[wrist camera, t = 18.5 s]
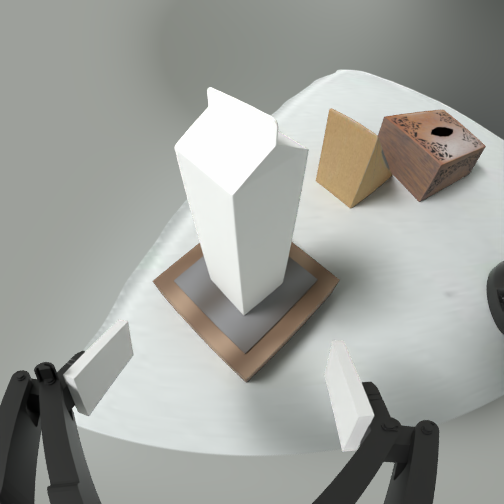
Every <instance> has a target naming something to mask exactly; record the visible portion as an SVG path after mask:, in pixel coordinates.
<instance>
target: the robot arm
mask: <svg viewBox="0 0 504 504" xmlns="http://www.w3.org/2000/svg"><path fill="white" fill-rule="evenodd" d="M487 297H488V303H489V307H490V310H491V313H492V316H493V318H494V321H495V323H496V325H497V326H498V328H499V329H500V331H501V332H502V333H503V334H504V261H503V262H501V263H499V264H498V265H497V266H496V267H495V268H494V269H492V271H491V272H490V274H489V277H488V281H487ZM132 356H133V349H132V344H131V338H130V332H129V325H128V321H124V320H119V319H118V320H117V321H116V322H115V323H114V324H113V325H112V326H111V327H110V328H109V329H108V330H107V331H106V332H105V333H104V334H103V335H102V336H101V337H100V338H99V339H98V340H97V341H96V342H95V343H94V344H93V345H92V346H91V347H90V348H89V349H88V350H87V351H86V352H85V351H81V352H79V353H77V354H75V356H73V357H72V358H71V360H69V361H68V363H66V364H65V365H64V366H63V367H62V368H61V369H60V370H59V371H58V372H56V369H55V367H54V365H53V364H52V363H49V362H44V363H40V364H39V365H37V366H36V367H35V369H34V371H35V374H36V377H37V379H31V377H30V375H29V373H28V372H27V371H24V370H23V371H17V372H16V373H14V374H13V376H12V377H11V380H10V382H9V385H8V387H7V390H6V392H5V395H4V397H3V400H2V403H1V405H0V504H34V494H35V476H36V465H37V456H38V449H39V442H40V435H41V430H42V438H43V445H44V452H45V459H46V464H47V469H48V474H49V479H50V484H51V485H50V486H48V487H47V490H48V496H49V499H50V503H51V504H101V502H100V499H99V497H98V494H97V492H96V489H95V487H94V484H93V481H92V479H91V476H90V472H89V469H88V466H87V463H86V460H85V457H84V453H83V450H82V446H81V442H80V438H79V434H78V430H77V426H76V422H75V417H74V412H73V410H72V408H73V407H74V405H75V406H76V408H77V410H78V412H79V413H82V414H84V415H87V416H89V415H90V414H91V413H92V411H93V410H94V408H95V407H96V406H97V404H98V403H99V401H100V400H101V399H102V397H103V396H104V394H105V393H106V392H107V390H108V389H109V388H110V386H111V385H112V383H113V382H114V381H115V379H116V378H117V377H118V375H119V374H120V373H121V371H122V370H123V369H124V367H125V366H126V364H127V363H128V362H129V360H130V359H131V358H132ZM324 376H325V380H326V384H327V388H328V392H329V396H330V401H331V405H332V409H333V413H334V417H335V422H336V426H337V430H338V435H339V439H340V444H341V448H342V451H343V452H344V451H354V450H357V449H358V447H359V445H361V446H360V447H359V449H358V450H357V451H356V453H355V454H354V455H353V457H352V458H351V459H350V461H349V462H348V463H347V464H346V466H345V467H344V468H343V469H342V471H341V472H340V473H339V474H338V475H337V477H336V478H335V479H334V480H333V481H332V483H331V484H330V485H329V486H328V487H327V488H326V489H325V490H324V491H323V493H322V494H321V495H320V496H319V497H318V498H317V499H316V500H315V501H314V502H313V503H312V504H355V503H356V502H357V500H358V499H359V497H360V496H361V495H362V493H363V492H364V490H365V489H366V488H367V486H368V485H369V483H370V482H371V480H372V479H373V477H374V476H375V474H376V473H377V471H378V470H379V468H380V466H381V465H382V463H383V462H395V464H394V468H393V472H392V476H391V480H390V484H389V487H388V491H387V495H386V498H385V501H384V504H432V503H433V498H434V491H435V483H436V475H437V464H438V463H437V462H438V447H439V428H438V426H437V425H436V424H435V423H434V422H432V421H429V420H423V421H420V422H419V423H418V424H417V425H416V427H410V426H402V425H401V424H400V423H399V421H398V420H396V419H394V418H391V417H390V415H389V412H388V410H387V408H386V406H385V403H384V401H383V400H382V397H381V395H380V392H379V390H378V388H377V387H376V386H375V385H374V384H373V383H372V382H361V380H360V378H359V375H358V373H357V371H356V368H355V366H354V364H353V361H352V359H351V356H350V354H349V352H348V349H347V347H346V345H345V342H344V341H335V340H332V343H331V347H330V352H329V356H328V361H327V365H326V369H325V373H324Z"/></svg>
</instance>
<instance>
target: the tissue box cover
mask: <svg viewBox="0 0 504 504" xmlns="http://www.w3.org/2000/svg"><path fill="white" fill-rule="evenodd" d="M378 137H379V140H380V143H381V146H382V149H383V152H384V155H385V157H386V160H387V162H388V165H389V168H390V170H391V173H392V174H393V175H394V176H395V177H396V178H397V179H398V180H399V181H400V182H401V183H402V184H403V185H404V186H405V188H406V189H407V190H408V191H409V192H410V193H411V194H412V195H413V196H414V197H415V198H416V199H417V200H418V201H419V202H420V201H422V200H424V199H426V198H428V197H429V196H431V195H433V194H435V193H437V192H438V191H440V190H442V189H444V188H446V187H447V186H449V185H451V184H453V183H454V182H456V181H458V180H460V179H461V178H463V177H465V176H467V175H468V174H469V173H470V172H471V170H472V169H473V167H474V165H475V164H476V162H477V160H478V159H479V157H480V155H481V154H482V152H483V150H484V148H485V147H486V146H485V145H484V144H483V143H482V142H481V141H480V140H479V139H477V138H476V137H475V136H474V135H473V134H472V133H471V132H470V131H469V130H467V129H466V128H465V127H464V126H463V125H462V124H461V123H459V122H458V121H457V120H456V119H454V118H453V117H452V116H451V115H450V114H448V113H447V112H446V111H444V110H434V111H424V112H415V113H408V114H400V115H393V116H387V117H384V119H383V122H382V125H381V128H380V131H379V134H378Z"/></svg>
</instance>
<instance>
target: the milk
mask: <svg viewBox="0 0 504 504" xmlns="http://www.w3.org/2000/svg"><path fill="white" fill-rule="evenodd" d="M207 95H208V108H207V109H206V110H205V111H204V113H203V114H202V115H201V116H200V117H199V118H198V119H197V120H196V121H195V123H194V124H193V125H192V126H191V127H190V128H189V130H188V131H187V132H186V133H185V134H184V135H183V136H182V138H181V139H180V140H179V141H178V143H177V144H176V145H175V152H176V156H177V160H178V163H179V167H180V172H181V176H182V180H183V183H184V187H185V191H186V195H187V199H188V202H189V206H190V210H191V213H192V217H193V220H194V224H195V228H196V231H197V235H198V238H199V242H200V245H201V248H202V252H203V255H204V259H205V262H206V265H207V268H208V272H209V275H210V278H211V280H212V281H213V282H214V283H215V285H216V286H217V287H218V288H219V289H220V290H221V291H222V292H223V293H224V295H225V296H226V297H227V298H228V299H229V300H230V301H231V302H232V303H233V304H234V306H235V307H236V308H237V309H238V310H239V311H240V312H241V313H242V314H243V315H245V314H247V313H248V312H249V311H250V310H251V309H253V308H254V307H255V306H256V305H257V304H259V303H260V302H261V301H262V300H263V299H265V298H266V297H267V296H268V295H269V294H271V293H272V292H273V291H274V290H275V289H276V288H278V287H279V286H280V285H281V284H282V283H283V280H284V275H285V270H286V266H287V261H288V256H289V251H290V247H291V242H292V237H293V232H294V227H295V222H296V217H297V212H298V206H299V201H300V196H301V191H302V185H303V180H304V174H305V169H306V163H307V157H308V151H309V150H308V149H307V148H306V147H304V146H303V145H301V144H299V143H298V142H296V141H294V140H293V139H291V138H290V137H288V136H286V135H284V134H283V133H281V132H279V131H278V123H277V121H276V119H275V118H273V117H272V116H270V115H268V114H266V113H264V112H262V111H260V110H258V109H256V108H254V107H252V106H250V105H248V104H246V103H244V102H242V101H240V100H238V99H236V98H233V97H231V96H229V95H227V94H224V93H223V92H220V91H218V90H216V89H213V88H211V87H210V88H208V90H207Z"/></svg>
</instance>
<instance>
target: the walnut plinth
mask: <svg viewBox="0 0 504 504" xmlns="http://www.w3.org/2000/svg"><path fill="white" fill-rule="evenodd" d="M153 282H154V284H155V285H156V287H157V288H158V289H159V291H160V292H161V294H162V295H163V296H164V297H165V298H166V299H167V301H168V302H169V303H170V304H171V305H172V306H173V307H174V309H175V310H176V311H177V312H178V313H179V314H180V315H181V316H182V318H183V319H184V320H185V321H186V322H187V323H188V324H189V325H190V326H191V327H192V329H193V330H194V331H195V332H196V333H197V334H198V335H199V336H200V337H201V338H202V339H203V340H204V341H205V342H206V343H207V344H208V345H209V347H210V348H211V349H212V350H213V351H214V352H215V353H216V354H217V355H218V356H219V357H220V358H221V359H222V360H223V361H224V362H225V363H226V364H227V365H228V366H229V367H230V368H231V369H232V370H233V371H234V372H236V373H237V374H238V375H239V376H240V377H241V378H242V379H243V380H244V381H245V382H247V381H249V380H250V379H251V378H252V377H253V376H254V375H255V374H256V373H257V372H258V371H259V370H260V369H261V368H262V367H263V366H264V365H265V364H266V363H267V362H268V361H269V360H270V359H271V358H272V357H273V356H274V355H275V354H276V353H277V352H278V351H279V350H280V349H281V348H282V347H283V346H284V345H285V344H286V343H287V342H288V341H289V339H290V338H291V337H292V336H293V335H294V334H295V333H296V332H297V331H298V330H299V329H300V328H301V327H302V326H303V325H304V323H305V322H306V321H307V320H308V319H309V318H310V317H311V316H312V315H313V313H314V312H315V311H316V310H317V309H318V308H319V307H320V306H321V304H322V303H323V302H324V301H325V300H326V299H327V298H328V296H329V295H330V294H331V293H332V291H333V290H334V288H335V287H336V285H337V283H338V282H339V279H338V278H337V277H335V276H334V275H333V274H332V273H330V272H329V271H328V270H327V269H325V268H324V267H323V266H322V265H320V264H319V263H318V262H317V261H315V260H314V259H313V258H312V257H310V256H309V255H308V254H306V253H305V252H304V251H303V250H301V249H300V248H299V247H297V246H296V245H295V244H294V243H292V242H291V247H290V251H289V256H288V261H287V266H286V270H285V275H284V280H283V283H282V284H281V285H280V286H279V287H278V288H276V289H275V290H274V291H273V292H272V293H271V294H269V295H268V296H267V297H266V298H265V299H263V300H262V301H261V302H260V303H259V304H257V305H256V306H255V307H254V308H253V309H251V310H250V311H249V312H248V313H247V314H245V315H243V314H242V313H241V312H240V311H239V310H238V309H237V308H236V307H235V306H234V304H233V303H232V302H231V301H230V300H229V299H228V298H227V297H226V296H225V295H224V293H223V292H222V291H221V290H220V289H219V288H218V287H217V286H216V285H215V283H214V282H213V281H212V280H211V278H210V275H209V272H208V268H207V265H206V262H205V259H204V255H203V252H202V248H201V245H200V243H199V244H198V245H196V246H195V247H194V248H193V249H191V250H190V251H189V252H188V253H186V254H185V255H184V256H183V257H181V258H180V259H179V260H178V261H177V262H175V263H174V264H173V265H172V266H170V267H169V268H168V269H167V270H166V271H164V272H163V273H162V274H161V275H160V276H158V277H157V278H156V279H155V280H154V281H153Z"/></svg>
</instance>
